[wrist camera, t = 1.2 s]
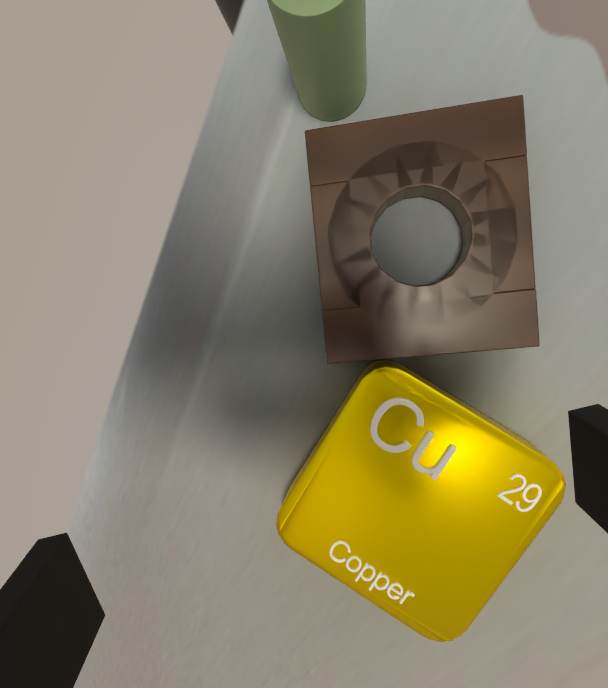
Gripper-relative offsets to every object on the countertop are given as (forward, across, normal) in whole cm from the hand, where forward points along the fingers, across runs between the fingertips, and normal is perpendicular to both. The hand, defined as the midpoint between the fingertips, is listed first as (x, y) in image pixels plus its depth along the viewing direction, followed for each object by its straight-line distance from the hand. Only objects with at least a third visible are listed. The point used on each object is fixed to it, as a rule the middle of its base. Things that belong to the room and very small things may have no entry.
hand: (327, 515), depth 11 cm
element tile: (+20, +5, -14) cm, 25 cm away
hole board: (+23, +10, +4) cm, 25 cm away
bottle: (+26, +7, +16) cm, 31 cm away
